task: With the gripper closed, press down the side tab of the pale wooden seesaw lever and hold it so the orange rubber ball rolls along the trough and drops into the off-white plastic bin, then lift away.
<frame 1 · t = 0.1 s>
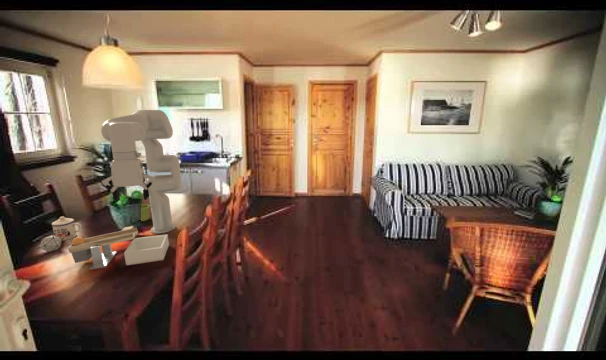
hand: (132, 199, 102), 31 cm above the table, tool pointing down, fingers open, 9 cm apart
bin: (149, 254, 123), on the table
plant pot: (142, 220, 165), on the table
ball: (78, 241, 113), point 11 cm above the table, tilted 16°, touching lever
game die: (52, 251, 126), on the table
lever stand: (103, 260, 118), on the table
teacup with lid: (69, 237, 141), on the table
lever: (110, 240, 120), point 8 cm above the table, hinge at 7.0°, touching ball
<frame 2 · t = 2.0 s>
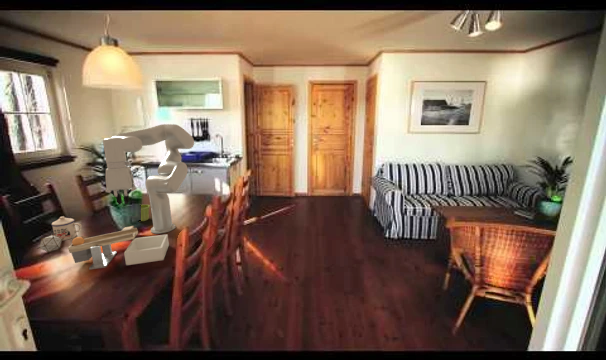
hand: (123, 203, 124), 23 cm above the table, tool pointing down, fingers closed
nothing on the table moved.
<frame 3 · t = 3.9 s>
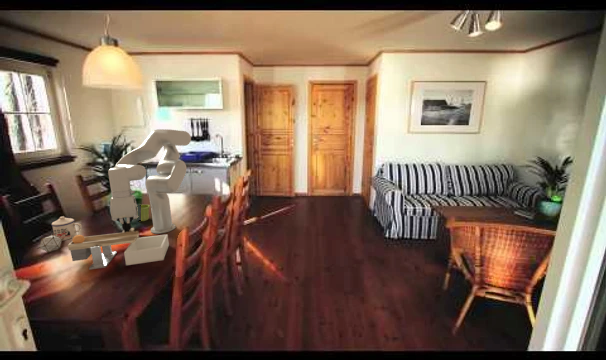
hand: (127, 230, 126), 10 cm above the table, tool pointing down, fingers closed
ball: (78, 239, 113), point 11 cm above the table, tilted 9°, touching lever
lever: (109, 241, 120), point 7 cm above the table, hinge at 0.2°, touching ball, gripper
everything else where it was.
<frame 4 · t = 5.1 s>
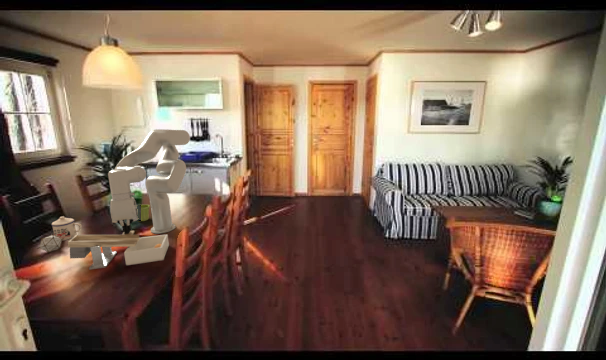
hand: (127, 232, 127), 9 cm above the table, tool pointing down, fingers closed
ball: (159, 248, 124), point 3 cm above the table, tilted 155°, touching bin
lever: (109, 242, 120), point 7 cm above the table, hinge at -7.9°, touching gripper
everything else where it was.
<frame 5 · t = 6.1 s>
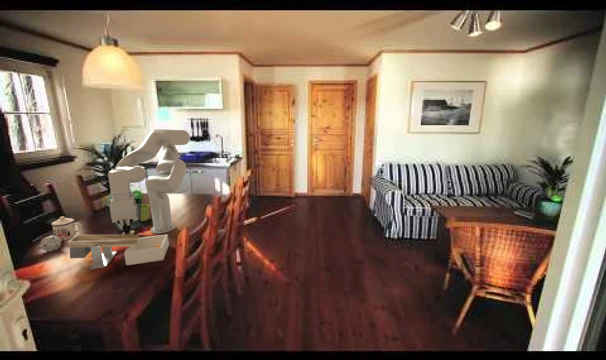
hand: (127, 232, 127), 9 cm above the table, tool pointing down, fingers closed
nothing on the table moved.
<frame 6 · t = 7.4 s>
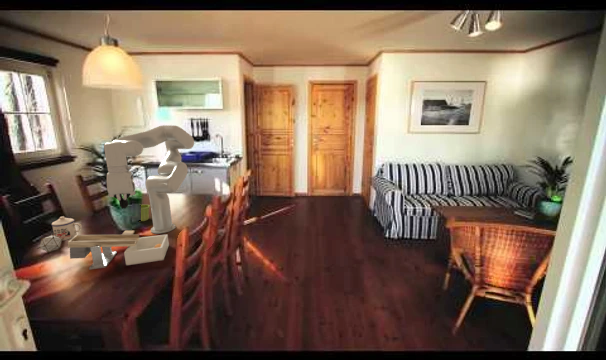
hand: (124, 207, 124), 21 cm above the table, tool pointing down, fingers closed
lever: (109, 241, 120), point 7 cm above the table, hinge at -7.5°
everything else where it was.
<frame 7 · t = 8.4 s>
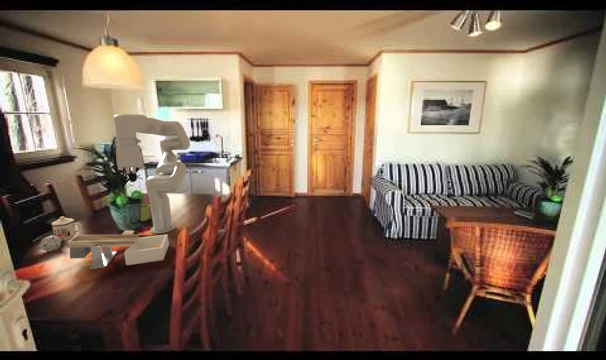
hand: (133, 181, 124), 33 cm above the table, tool pointing down, fingers closed
nothing on the table moved.
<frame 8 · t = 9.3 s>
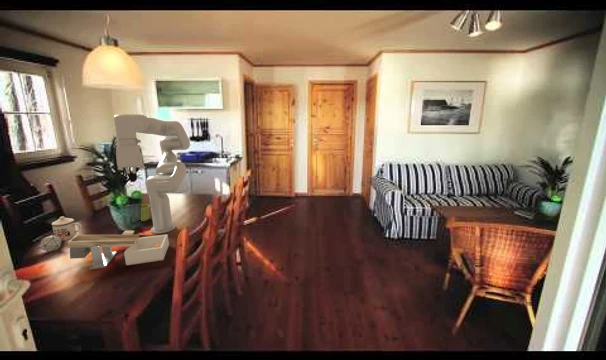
hand: (133, 181, 124), 33 cm above the table, tool pointing down, fingers closed
nothing on the table moved.
at the end: ball inside the target area on the bin (4.3 cm from its centre), point 2.6 cm above the bin's base; ball moved 30.7 cm from its start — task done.
